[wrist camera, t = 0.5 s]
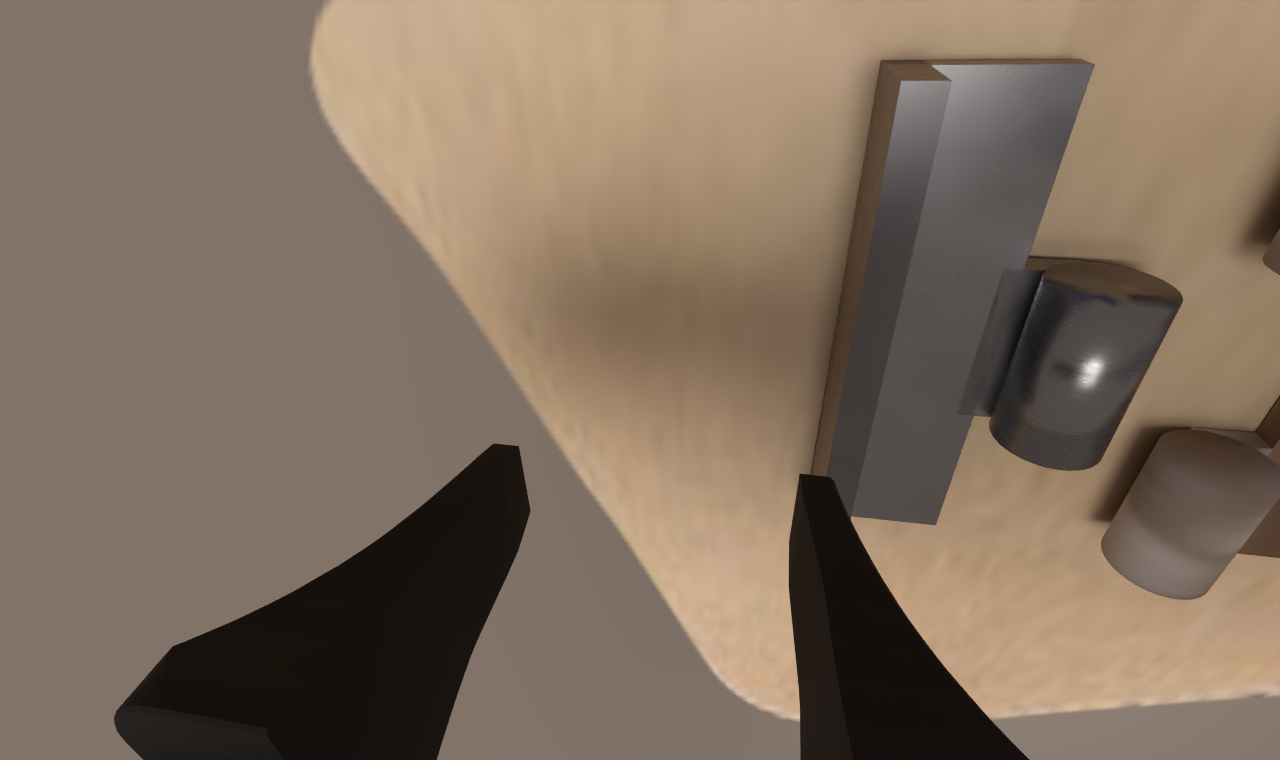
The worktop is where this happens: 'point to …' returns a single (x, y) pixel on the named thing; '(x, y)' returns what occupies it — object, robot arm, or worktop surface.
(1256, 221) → the worktop surface
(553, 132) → the worktop surface
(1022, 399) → the metal hinge
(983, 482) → the worktop surface
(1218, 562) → the fixed leaf
